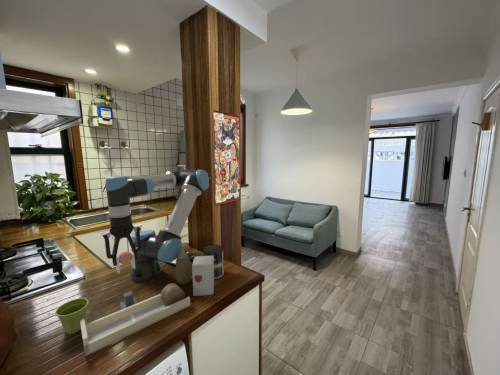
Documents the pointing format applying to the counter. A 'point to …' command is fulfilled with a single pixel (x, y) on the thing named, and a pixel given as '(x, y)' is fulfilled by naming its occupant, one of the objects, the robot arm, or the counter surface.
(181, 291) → the hump
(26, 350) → the counter surface
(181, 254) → the squeeze bottle
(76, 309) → the plant pot
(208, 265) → the supplement box
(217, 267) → the coffee can
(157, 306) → the tray
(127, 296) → the tee
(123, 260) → the ball
